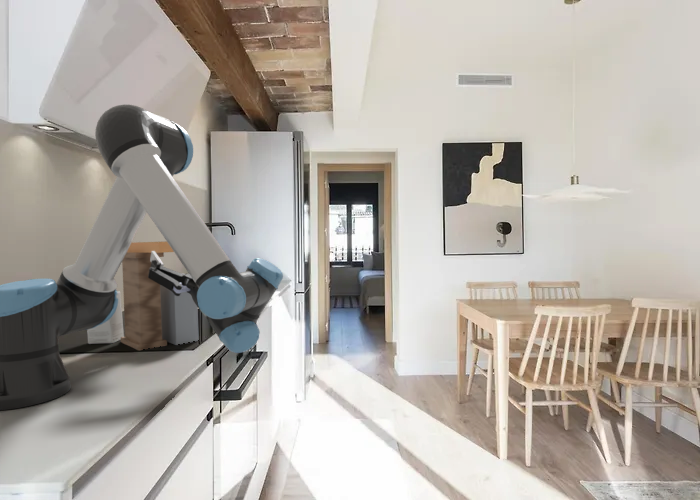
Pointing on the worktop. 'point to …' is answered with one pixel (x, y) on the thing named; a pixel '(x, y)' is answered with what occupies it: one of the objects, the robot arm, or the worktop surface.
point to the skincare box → (108, 328)
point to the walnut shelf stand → (141, 303)
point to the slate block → (178, 317)
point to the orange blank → (150, 247)
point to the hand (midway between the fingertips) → (179, 254)
